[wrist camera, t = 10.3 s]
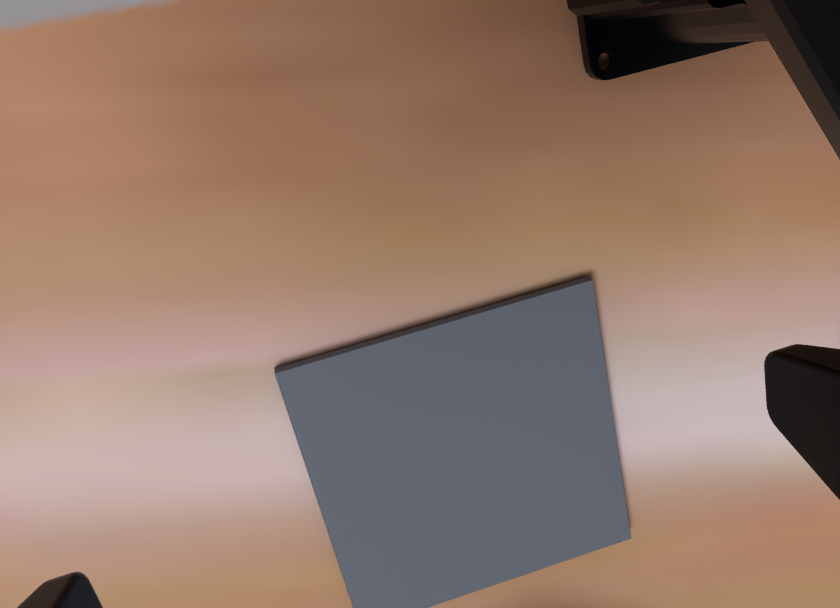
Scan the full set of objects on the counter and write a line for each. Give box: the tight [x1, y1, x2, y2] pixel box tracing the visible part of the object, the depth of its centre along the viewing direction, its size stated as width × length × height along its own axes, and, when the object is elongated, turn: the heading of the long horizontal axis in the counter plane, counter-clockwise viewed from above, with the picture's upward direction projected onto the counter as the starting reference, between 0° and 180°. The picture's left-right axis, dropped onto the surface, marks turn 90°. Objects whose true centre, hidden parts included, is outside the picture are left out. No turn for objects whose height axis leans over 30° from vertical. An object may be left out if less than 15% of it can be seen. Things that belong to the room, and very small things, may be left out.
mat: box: [275, 277, 631, 608], centre depth 24 cm, size 10×10×1 cm
